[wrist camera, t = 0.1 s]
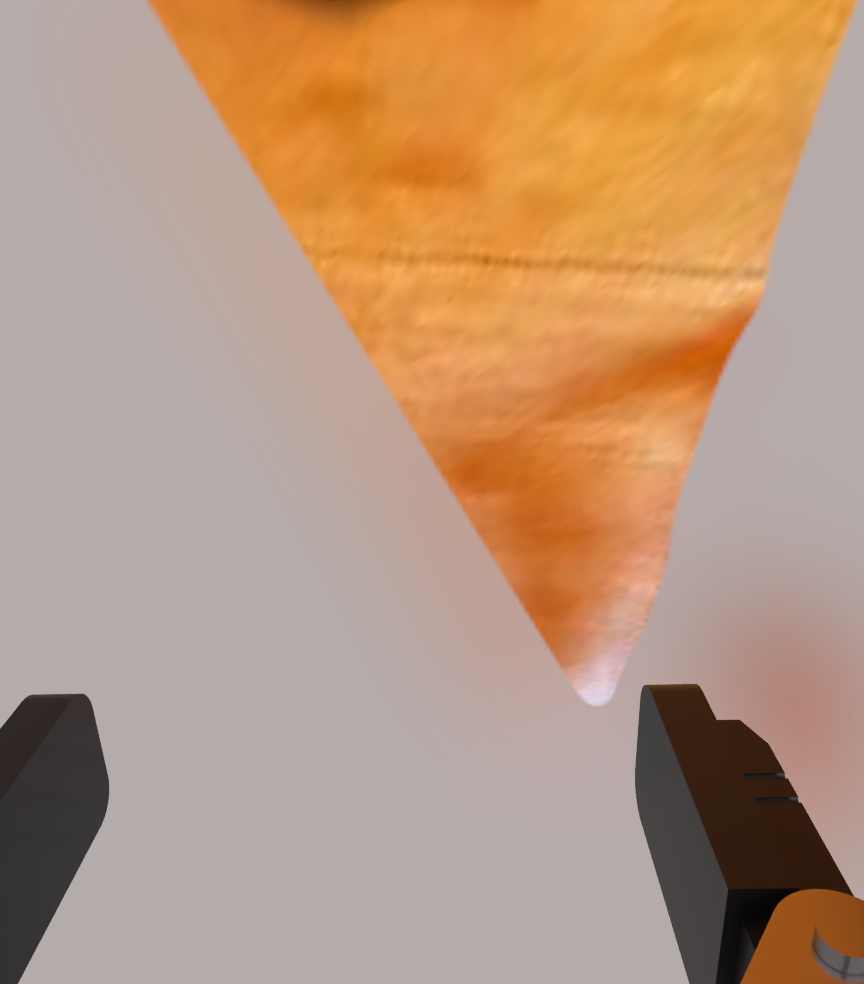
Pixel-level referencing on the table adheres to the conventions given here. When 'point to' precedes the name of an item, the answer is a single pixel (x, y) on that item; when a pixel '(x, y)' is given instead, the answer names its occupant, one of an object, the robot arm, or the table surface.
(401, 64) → the table surface
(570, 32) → the table surface
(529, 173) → the table surface
